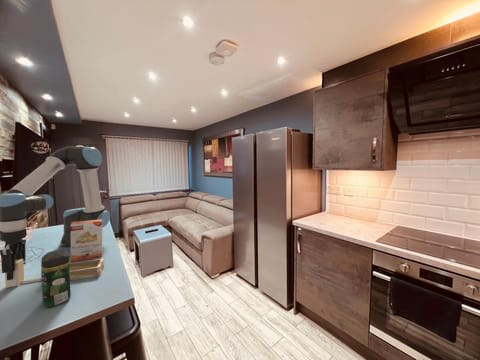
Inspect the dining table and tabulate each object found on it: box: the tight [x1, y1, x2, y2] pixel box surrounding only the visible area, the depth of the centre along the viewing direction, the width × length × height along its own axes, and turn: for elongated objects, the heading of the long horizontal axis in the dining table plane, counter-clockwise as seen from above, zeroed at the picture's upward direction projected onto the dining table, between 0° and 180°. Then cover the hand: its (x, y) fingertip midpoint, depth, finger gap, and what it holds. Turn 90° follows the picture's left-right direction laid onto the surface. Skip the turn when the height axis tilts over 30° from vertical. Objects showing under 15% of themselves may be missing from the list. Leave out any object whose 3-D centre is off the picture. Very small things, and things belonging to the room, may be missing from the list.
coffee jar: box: [40, 249, 72, 308], centre depth 75 cm, size 10×8×19 cm
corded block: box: [4, 259, 42, 289], centre depth 88 cm, size 6×18×10 cm, turn 116°
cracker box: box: [70, 219, 103, 263], centre depth 112 cm, size 14×6×21 cm, turn 124°
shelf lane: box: [70, 258, 105, 281], centre depth 95 cm, size 10×15×4 cm
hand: (15, 283), depth 85 cm, fingers closed on corded block, 4 cm apart
